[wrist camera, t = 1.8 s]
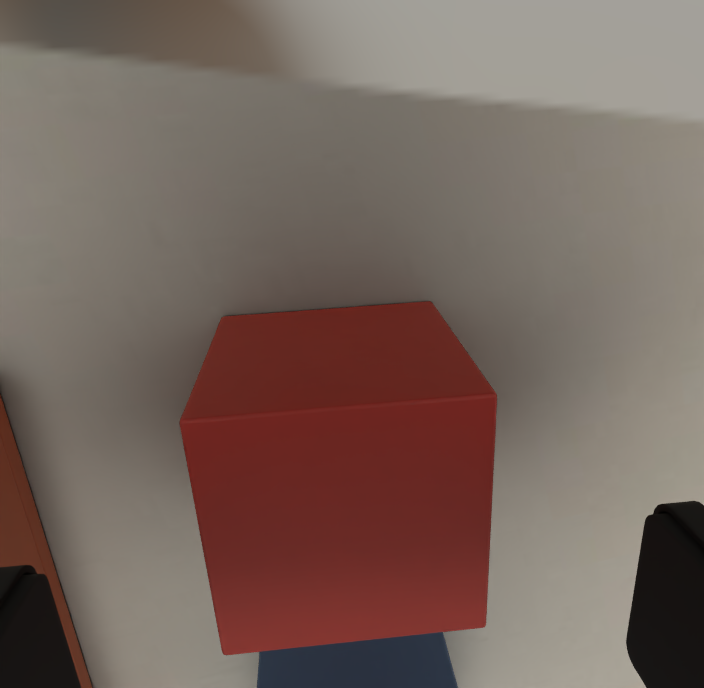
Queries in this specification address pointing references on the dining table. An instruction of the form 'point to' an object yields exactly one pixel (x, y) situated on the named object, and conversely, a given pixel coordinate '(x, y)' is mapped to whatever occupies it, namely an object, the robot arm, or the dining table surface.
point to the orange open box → (29, 534)
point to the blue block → (361, 664)
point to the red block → (341, 476)
